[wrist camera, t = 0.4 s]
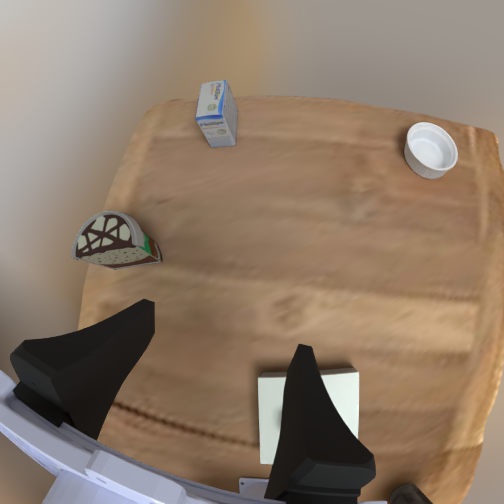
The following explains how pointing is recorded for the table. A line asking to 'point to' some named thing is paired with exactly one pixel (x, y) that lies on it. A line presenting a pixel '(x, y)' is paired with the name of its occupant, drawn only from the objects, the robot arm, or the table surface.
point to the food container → (114, 242)
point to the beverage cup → (408, 495)
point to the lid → (271, 399)
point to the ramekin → (429, 150)
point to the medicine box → (217, 114)
